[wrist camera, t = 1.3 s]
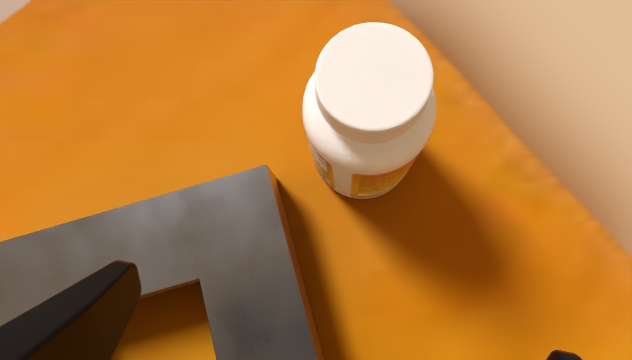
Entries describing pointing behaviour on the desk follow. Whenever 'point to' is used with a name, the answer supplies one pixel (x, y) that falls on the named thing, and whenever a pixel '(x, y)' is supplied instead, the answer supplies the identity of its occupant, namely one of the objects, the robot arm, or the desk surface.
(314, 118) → the supplement bottle
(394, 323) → the desk surface
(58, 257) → the socket block
